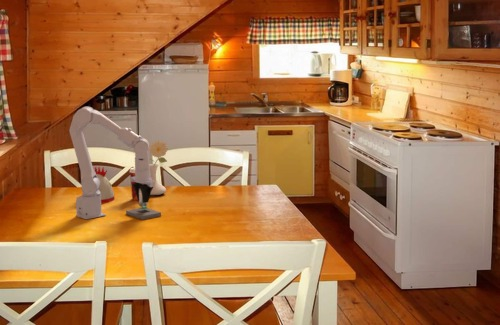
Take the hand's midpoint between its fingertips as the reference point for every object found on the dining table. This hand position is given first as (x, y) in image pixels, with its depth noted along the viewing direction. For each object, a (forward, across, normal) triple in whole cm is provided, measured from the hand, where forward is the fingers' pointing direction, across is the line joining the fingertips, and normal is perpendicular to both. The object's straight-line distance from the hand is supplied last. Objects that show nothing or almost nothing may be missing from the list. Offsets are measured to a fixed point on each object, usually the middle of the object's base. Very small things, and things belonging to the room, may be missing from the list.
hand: (143, 201), depth 282 cm
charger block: (+6, 0, 0) cm, 6 cm away
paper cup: (+6, +25, -14) cm, 29 cm away
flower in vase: (+6, +28, -25) cm, 38 cm away
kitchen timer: (+6, +36, 0) cm, 36 cm away
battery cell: (+2, 0, 0) cm, 2 cm away
